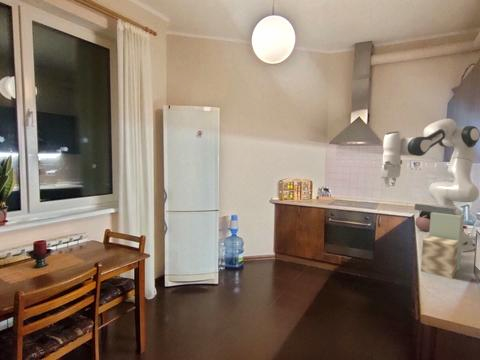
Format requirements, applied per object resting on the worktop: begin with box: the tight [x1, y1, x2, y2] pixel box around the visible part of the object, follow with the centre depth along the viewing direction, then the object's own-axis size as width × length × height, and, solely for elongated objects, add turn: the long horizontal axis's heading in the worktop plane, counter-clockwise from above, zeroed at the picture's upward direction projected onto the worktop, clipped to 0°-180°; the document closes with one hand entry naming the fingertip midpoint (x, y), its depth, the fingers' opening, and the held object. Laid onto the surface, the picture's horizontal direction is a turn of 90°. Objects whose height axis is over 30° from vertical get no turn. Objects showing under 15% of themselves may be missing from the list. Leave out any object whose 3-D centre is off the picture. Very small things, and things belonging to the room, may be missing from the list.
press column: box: [428, 212, 465, 272], centre depth 148 cm, size 12×10×26 cm
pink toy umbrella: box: [414, 215, 430, 232], centre depth 221 cm, size 12×12×11 cm
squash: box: [418, 211, 432, 219], centre depth 243 cm, size 14×15×15 cm
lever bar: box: [414, 203, 456, 215], centre depth 151 cm, size 17×5×3 cm, turn 46°
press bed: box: [420, 235, 458, 279], centre depth 140 cm, size 12×10×15 cm
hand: (390, 186), depth 167 cm, fingers open, 8 cm apart
